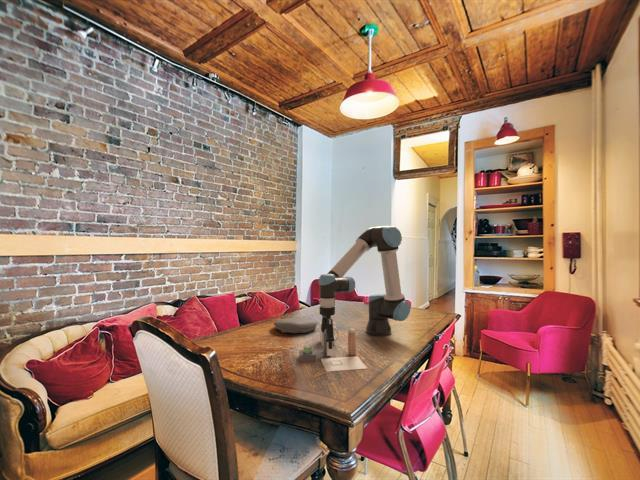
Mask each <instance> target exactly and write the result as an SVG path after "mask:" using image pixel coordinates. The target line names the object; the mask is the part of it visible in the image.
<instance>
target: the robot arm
mask: <svg viewBox="0 0 640 480" xmlns="http://www.w3.org/2000/svg"><path fill="white" fill-rule="evenodd" d="M402 240H403V236H402V233H401V230H400V229H399V228H397V226H394V225H382V226H373V227H369V228H368V229H366V230H365V231H364V232H362V234H360V235H359V236H358V237H357V238H356V239H355V243H354V244H353V245H352V246H351V247H350V248H349V250H348V251H346V253H345V254H344V255H343V256H342V257H341V258H340V260H338V262H336V264H334V266H333V267H332V268H331V269H330V270H329V271H328V272H327V273H323V274H320V276H319V278H318V285H319V299H318V302H319V315H321V316H322V317H321V321H322V324H321V330H322V332H323V333H322V343H321V346H322V347H324V330H325V329H326V332H327V340H326V342H327V356H331V357H332V356H333V355H334V343H333V341H334V334H333V321H334V320H333V319H332V316H335V314H336V307H335V306H336V294H339V293H341V294H343V293H350V292H353V291H354V290H355V288H356V281H355V279H354V278H353V277H351V276H346V277H345V275H346V274H347V273H348V272H349V270H351V269H352V267H353V266H355V264H356V263H357V262H358V260H359V259H360V258H362V256H363V255H364V254H365V253H367V252H369V251H370V250H371V249H372V248H375V247H376V249H377V252H378V253H379V254H380V258H381V268H382V273H383V281H384V288H385V293H378V294H376V293H375V294H371V295H369V296H368V320H367V324H366V327H365V333H366V334H368V335H372V336H377V337H385V336H389V335H391V334H392V328H391V325H390V322H389V319H390V320H393V321H396V322H397V321H398V322H404V321H405V320H406V319H408V317H409V315H410V313H411V303H409V301H407V300H406V298H405V295H404V294H403V293H402V288H401V279H400V274H399V273H400V272H399V271H400V270H399V263H398V258H397V256H398V255H397V252H398V250H399V246H400V245H401V244H402V242H403V241H402ZM330 338H331V339H330Z"/></svg>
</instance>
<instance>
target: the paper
mask: <svg viewBox="0 0 640 480" xmlns="http://www.w3.org/2000/svg"><path fill="white" fill-rule="evenodd" d="M320 360H321V363H322V366H323V367H324V370H325V373H329V372H330V373H332V372H345V371H355V370H357V371H358V370H367V369H368V367H367V366H366V365H365V364H364V362H363V361H362V359H360V357H359V356H358V355H355V356H343V357H341V356H340V357H324V358H320Z"/></svg>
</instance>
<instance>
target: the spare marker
mask: <svg viewBox="0 0 640 480" xmlns="http://www.w3.org/2000/svg"><path fill="white" fill-rule="evenodd" d="M347 333H348V334H347V336H348V337H347V355H348V357H355V356H357V355H356V354H357V353H356V351H357V349H356V348H357V347H356V344H357V342H356V339H357V338H356V337H357V336H356V329H355V328H349V329H348V332H347Z"/></svg>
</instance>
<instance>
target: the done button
mask: <svg viewBox="0 0 640 480" xmlns="http://www.w3.org/2000/svg"><path fill="white" fill-rule="evenodd" d="M312 349H313V347H312V346H311V345H304V346H303V349H302V350H303V353H304V354H312Z"/></svg>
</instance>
